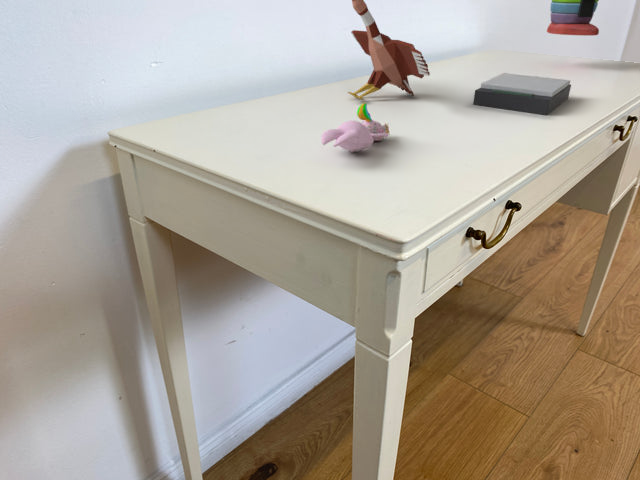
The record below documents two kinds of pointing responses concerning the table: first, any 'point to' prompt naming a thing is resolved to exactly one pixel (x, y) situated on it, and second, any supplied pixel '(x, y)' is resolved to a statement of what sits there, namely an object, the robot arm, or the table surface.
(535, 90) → the scale
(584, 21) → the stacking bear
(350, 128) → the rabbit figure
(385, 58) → the decorative bird
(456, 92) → the table surface
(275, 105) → the table surface
